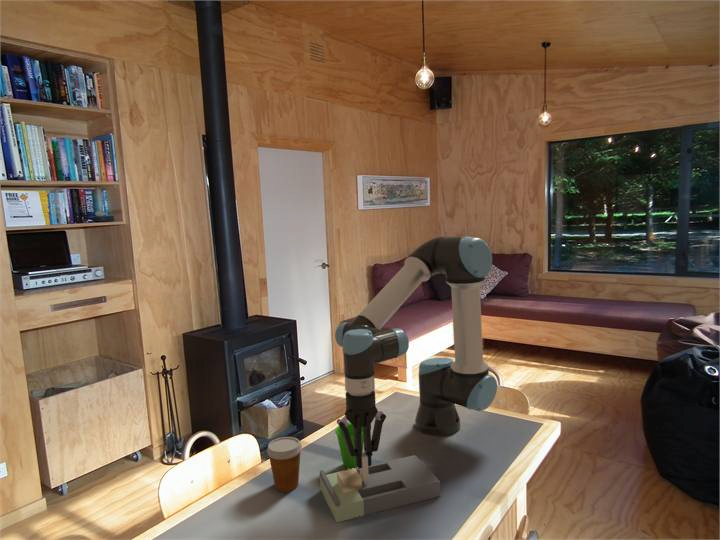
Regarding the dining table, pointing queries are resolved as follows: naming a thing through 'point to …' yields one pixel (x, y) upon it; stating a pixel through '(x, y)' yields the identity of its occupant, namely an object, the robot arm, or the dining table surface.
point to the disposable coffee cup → (285, 462)
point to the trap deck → (381, 488)
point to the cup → (346, 457)
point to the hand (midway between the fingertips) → (364, 478)
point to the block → (349, 480)
